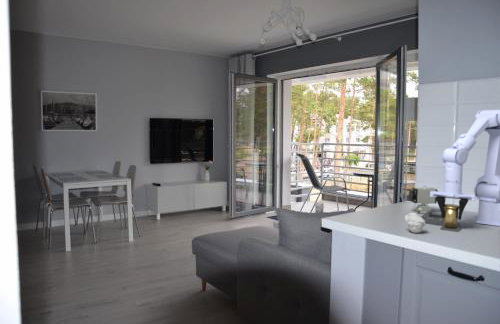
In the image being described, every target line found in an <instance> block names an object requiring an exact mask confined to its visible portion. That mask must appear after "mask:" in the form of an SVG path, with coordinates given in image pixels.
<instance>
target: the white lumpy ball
mask: <svg viewBox="0 0 500 324" xmlns="http://www.w3.org/2000/svg"><path fill="white" fill-rule="evenodd" d="M404 219H405V223H406V224H407V228H408V230H409V231H410V232H411V233H414V234H419V233H421V232H422V231H423V229H424V227H425V226H426V224H425V220H424V219H423V218H421V216H420V215H418V213H417V212H409V213H408V214H406V215H405V216H404Z"/></svg>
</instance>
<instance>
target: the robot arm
mask: <svg viewBox="0 0 500 324" xmlns="http://www.w3.org/2000/svg"><path fill="white" fill-rule="evenodd" d="M483 132H486V133H487V134H488V135H489V138H488V145H487V146H488V147H487V152H486V160H485V167H484V172H483V173H484V174H483V175H481V176H480V177H478V178H477V180H476V184H475V186H474V190H473V192H474V194H471V193H463V191H462V189H463V188H462V186H463V168H464V167H463V166H464V164H465V163H467V160H468V157H469V154H470V153H469V152H470V151H471V150H472V149H473V148H474V146H475V145H476V143H477V141H476V139H477V138H478V137H479V136H480V135H481V134H482V133H483ZM441 161H442V165H443V168H444V179H443V180H444V181H443V191H439V190H437V191H431V192H430V197H437V199H436V204H437V205H438V207H439V210H440V213H441V216H442V218H444V214H445V207H444V205H445V204H446V199H453V200H458V206H459V210H458V221H459V220H462V215H463V212H464V210H465V208H466V206H467V204H468V202H469V201H473V202H474V201H475V202H476V198H477V201H478V215H477V220H476V221H475V224H482V225H490V226H497V227H500V109H480V110H478V111H477V113H476V114H475V115H474V122H473V124H472V125H470V128H469V129H468V130H467V132H466V133H462V134H460V135H459V137H458V138H457V140H456V141H455V142H453V144H452V145H451V146H450V147H448V148H446V149H444V150H443V152H442V155H441ZM438 191H439V192H438Z"/></svg>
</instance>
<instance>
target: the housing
mask: <svg viewBox="0 0 500 324" xmlns="http://www.w3.org/2000/svg"><path fill="white" fill-rule="evenodd" d="M420 217H421V218H423V219H424V220H425V223H426V224H425V225H432V226H440V227H442V226H443V225H444V218H442V216H441V212H440V213H439V212H433V211H430V212H426V213H425V214H421V216H420Z"/></svg>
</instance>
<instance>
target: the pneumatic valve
mask: <svg viewBox="0 0 500 324" xmlns="http://www.w3.org/2000/svg"><path fill="white" fill-rule="evenodd" d="M431 191H438V192H440V191H439V190H438V188H434V187H426V185H423V187H412V188H411V190H409V191H408V199H409V200H410V201H411V202H412V203H414V204H418V205H417V206H416V213H419V214H421V215H424V214H425V213H426V212H431V207H430V205H429V204H433V205H434V204H437V201H436V199H437V197H430V192H431Z"/></svg>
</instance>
